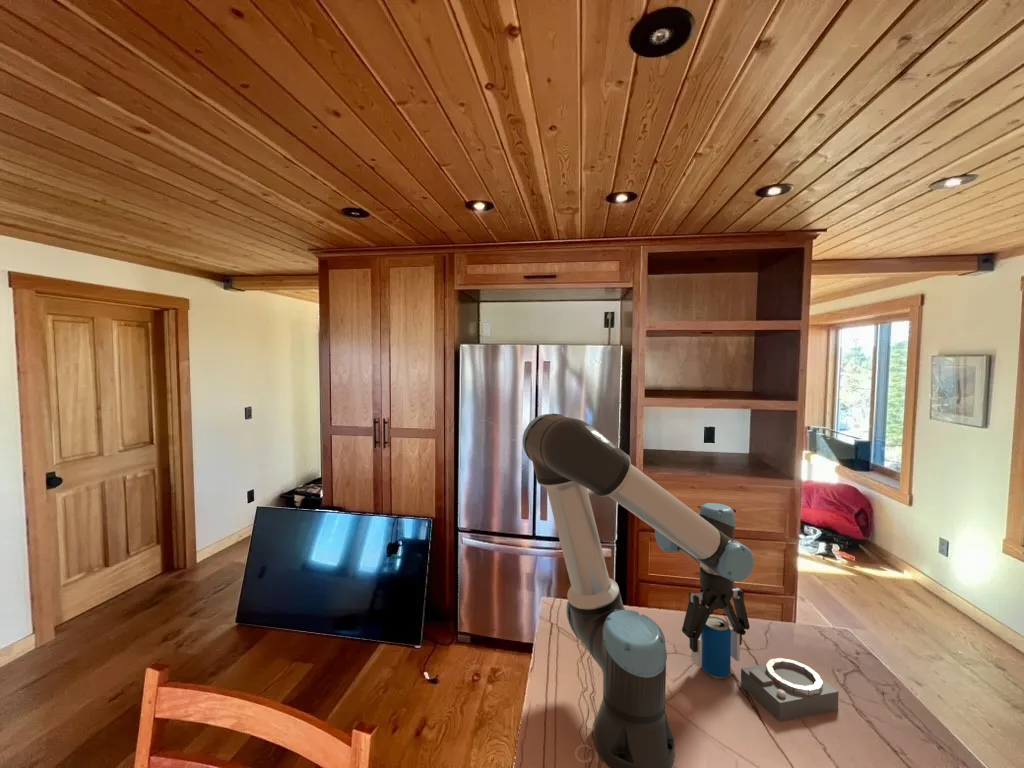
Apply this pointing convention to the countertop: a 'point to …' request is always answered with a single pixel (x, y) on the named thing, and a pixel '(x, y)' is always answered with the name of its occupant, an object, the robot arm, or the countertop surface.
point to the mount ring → (789, 686)
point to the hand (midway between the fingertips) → (715, 660)
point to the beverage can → (716, 647)
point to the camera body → (787, 693)
